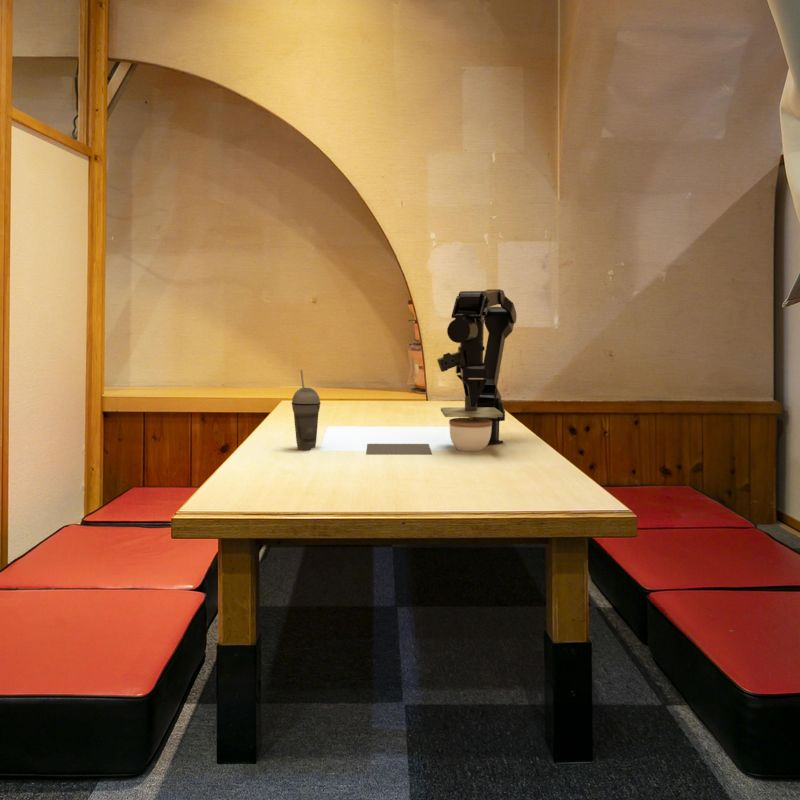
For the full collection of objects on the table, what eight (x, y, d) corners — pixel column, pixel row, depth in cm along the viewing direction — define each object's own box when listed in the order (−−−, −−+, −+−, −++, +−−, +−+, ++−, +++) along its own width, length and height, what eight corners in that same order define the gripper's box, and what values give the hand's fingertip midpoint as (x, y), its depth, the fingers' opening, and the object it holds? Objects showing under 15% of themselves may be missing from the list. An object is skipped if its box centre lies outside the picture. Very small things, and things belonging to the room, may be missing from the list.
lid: (494, 410, 198) (494, 394, 198) (503, 417, 184) (503, 399, 184) (440, 410, 198) (440, 393, 197) (445, 417, 184) (445, 399, 183)
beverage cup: (315, 451, 189) (315, 371, 187) (287, 450, 190) (287, 370, 188) (324, 447, 196) (324, 369, 194) (297, 445, 197) (296, 368, 195)
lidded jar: (463, 455, 185) (464, 417, 184) (440, 449, 194) (441, 412, 193) (500, 452, 190) (500, 415, 189) (476, 446, 199) (476, 410, 198)
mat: (428, 445, 199) (428, 443, 199) (432, 456, 184) (432, 454, 184) (367, 445, 199) (367, 443, 199) (365, 456, 183) (365, 454, 183)
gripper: (436, 340, 198) (436, 400, 200) (442, 343, 180) (441, 408, 181) (479, 341, 198) (478, 400, 200) (489, 343, 180) (488, 409, 181)
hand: (470, 404), depth 191 cm, fingers open, 9 cm apart
